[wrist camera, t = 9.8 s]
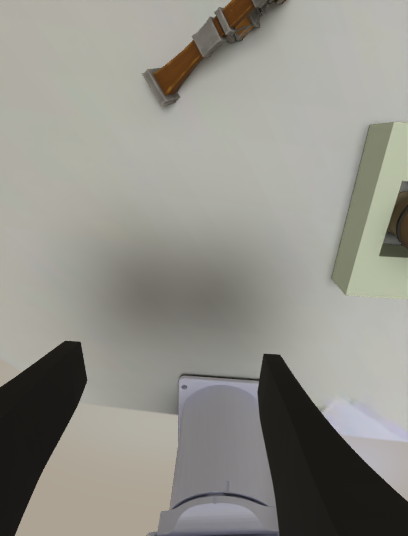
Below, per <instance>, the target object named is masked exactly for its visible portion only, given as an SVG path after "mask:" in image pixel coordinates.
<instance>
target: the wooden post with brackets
mask: <svg viewBox="0 0 408 536" xmlns="http://www.w3.org/2000/svg"><path fill="white" fill-rule="evenodd" d="M269 1H270V0H232V1H231V2H230V3H229V4H228V5H227V6H226V7H225V8H221V7H219V8H218V10H217V11H215V14H216V17H215V18H213V17H209V19H208V20H207V22H206V23H205V24H204V26H203V27H202V28H201V29H200V30H199V31H198V32H197V33H196V34H194V35H193V36H192V37H193V39H194V40H193V41H192V42H191V43H190V44H189V45H188V46H187V47H186V48H185V49H184V50H183V51H182V52H181V53H179V54H178V55H177V56H176V57H175V58H173V59H172V60H171V61H170V62H169V63H167V64H166V65H165V66H164V67H163V68H156V69H147V71H146V72H145V73H142V75H143V77H144V78H145V80H146V82H147V83H148V85H149V87H150V88H151V90H152V92H153V93H154V95H155V96H156V98H157V100H158V101H159V103H160V105H161V106H165V105H168V104H171V103H175V102H176V100H177V99H178V98H180V96H179V94H178V93H177V90H178V89H179V87H180V86H181V84H182V83H183V82H184V80H185V79H186V78H187V77H188V75H189V74H190V73H191V72H192V71H193V69H194V68H195V67H196V66H197V64H198V63H199V62H200V61H201V60H202V59H203V58H204V57H208V56H211V54H212V53H213V52H214V51H215V50H216V49H217V48H218V47H219V46H220V45H221V44H222V43H224V42H225V41H228V42H229V43H233V42H235V40H236V39H237V41H242V40H243V38H244V37H245V36H246V35H247V34H248V33H249V31H250V30H251V29H252V28H253V27H258V28H259V27H260V19H259V16H260V15H262V13H261V11H262V12H263V13H265V14H266V5H267V4H268V5H272V4H274V3H276V4H280V3H281V2H282V3H283V2H284V1H286V0H274V1H273V2H271V3H269Z"/></svg>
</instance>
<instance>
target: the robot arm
mask: <svg viewBox="0 0 408 536" xmlns="http://www.w3.org/2000/svg"><path fill="white" fill-rule="evenodd" d="M86 383H87V376H86V370H85V364H84V359H83V353H82V347H81V342H75V341H64V342H63V343H62V344H60V345H59V346H57V347H56V348H55V349H53V350H52V351H50V352H49V353H48V354H46V355H45V356H44V357H42V358H41V359H40V360H38V361H37V362H36V363H34V364H33V365H31V366H30V367H29V368H27V369H26V370H24V371H23V372H22V373H20V374H19V375H18V376H16V377H15V378H13V379H12V380H10V381H9V382H7V383H6V384H4V385H3V386H1V387H0V536H15V534H16V531H17V528H18V526H19V524H20V521H21V518H22V516H23V514H24V512H25V509H26V507H27V504H28V502H29V500H30V498H31V495H32V493H33V491H34V489H35V486H36V484H37V482H38V480H39V477H40V476H41V473H42V472H43V469H44V467H45V465H46V464H47V462H48V460H49V458H50V456H51V454H52V452H53V450H54V449H55V447H56V445H57V443H58V441H59V440H60V437H61V436H62V434H63V432H64V430H65V428H66V427H67V425H68V423H69V421H70V419H71V417H72V415H73V413H74V411H75V409H76V408H77V406H78V403H79V401H80V398H81V396H82V393H83V391H84V388H85V385H86ZM183 385H186V386H183ZM146 536H408V501H406V500H405V499H404V498H403V497H402V496H401V495H400V494H399V493H397V492H396V491H395V490H394V489H393V488H392V487H391V486H390V485H389V484H388V483H386V482H385V480H384V479H382V478H381V477H380V476H379V475H378V474H377V473H376V472H375V471H374V470H373V469H372V468H371V467H370V466H369V465H368V464H367V463H366V462H364V460H362V458H361V457H360V456H359V455H358V454H357V453H356V452H355V451H354V450H353V449H352V448H351V447H350V446H349V445H348V444H347V443H346V441H345V440H344V439H343V438H342V437H341V436H340V435H339V434H338V432H337V431H336V430H335V429H334V428H333V427H332V425H331V424H330V423H329V422H328V421H327V419H326V418H325V417H324V416H323V414H322V413H321V412H320V411H319V409H318V408H317V407H316V406H315V404H314V403H313V402H312V400H311V399H310V398H309V396H308V395H307V394H306V392H305V391H304V390H303V388H302V387H301V385H300V384H299V382H298V381H297V380H296V378H295V377H294V375H293V374H292V372H291V371H290V369H289V368H288V366H287V365H286V363H285V361H284V360H283V358H282V357H281V356H280V355H275V354H264V355H263V361H262V367H261V373H260V379H259V381H254V380H240V379H225V378H211V377H197V376H181V377H180V379H179V417H178V451H177V458H176V465H175V473H174V480H173V487H172V495H171V502H170V509H169V510H168V511H162V512H161V514H160V520H159V526H158V532H151V533H149V534H147V535H146Z"/></svg>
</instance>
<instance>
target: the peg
mask: <svg viewBox="0 0 408 536" xmlns="http://www.w3.org/2000/svg"><path fill="white" fill-rule="evenodd" d="M387 231H388V232H390V233H392V234H394V235H396V236H397V238H398V240H399V242H400V243H401V245H403V246H404V247H405V248H407V249H408V191H404V192H400V193H398V196H397V199H396V202H395V206H394V209H393V212H392V215H391V218H390V222H389V225H388V228H387Z"/></svg>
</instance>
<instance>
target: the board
mask: <svg viewBox="0 0 408 536" xmlns="http://www.w3.org/2000/svg"><path fill="white" fill-rule="evenodd" d="M402 181H408V123H404V122H390V123H382V124H373V125H370V127H369V131H368V135H367V139H366V143H365V147H364V151H363V155H362V159H361V163H360V167H359V171H358V175H357V179H356V183H355V187H354V191H353V195H352V199H351V203H350V207H349V211H348V215H347V219H346V223H345V227H344V231H343V235H342V239H341V243H340V247H339V251H338V255H337V259H336V263H335V267H334V271H333V275H332V280H333V281H334V282H335V283H336V284H337V286H338V287H339V288H340V289H341V290H342V292H343V293H344V294H345V295H347V296H363V297H379V298H396V299H408V249H407V248H405V247H404V246H403V245H386V244H383V241H384V238H385V234H386V231H387V228H388V225H389V222H390V218H391V215H392V212H393V209H394V206H395V202H396V199H397V196H398V193H399V190H400V187H401V183H402Z"/></svg>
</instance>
